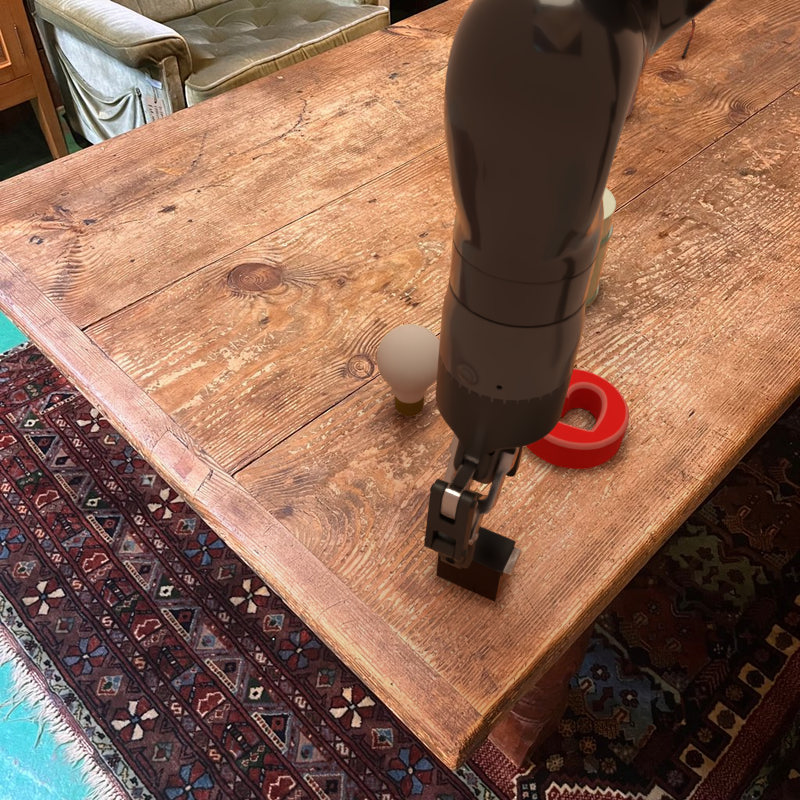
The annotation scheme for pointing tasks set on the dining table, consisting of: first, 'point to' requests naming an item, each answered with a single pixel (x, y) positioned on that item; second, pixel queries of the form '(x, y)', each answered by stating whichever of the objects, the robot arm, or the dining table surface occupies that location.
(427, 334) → the light bulb
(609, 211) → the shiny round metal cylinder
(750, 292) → the dining table surface
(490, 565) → the black usb flash drive
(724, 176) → the dining table surface
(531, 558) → the dining table surface
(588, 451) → the decorative ornament
